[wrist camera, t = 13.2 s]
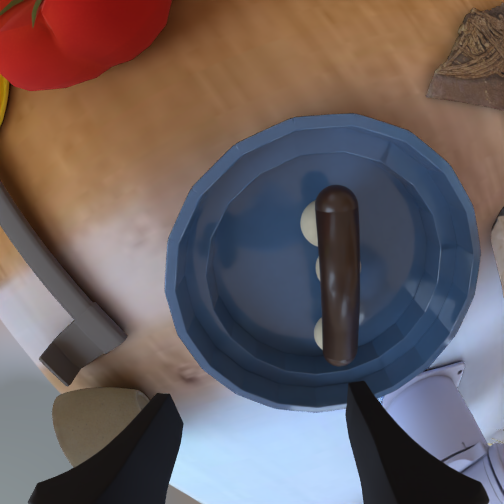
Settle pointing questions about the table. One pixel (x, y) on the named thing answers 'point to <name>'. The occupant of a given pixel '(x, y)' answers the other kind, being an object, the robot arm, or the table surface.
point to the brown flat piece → (474, 62)
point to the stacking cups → (3, 96)
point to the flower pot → (93, 419)
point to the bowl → (305, 256)
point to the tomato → (73, 38)
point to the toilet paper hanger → (61, 300)
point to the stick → (339, 272)
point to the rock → (499, 245)
